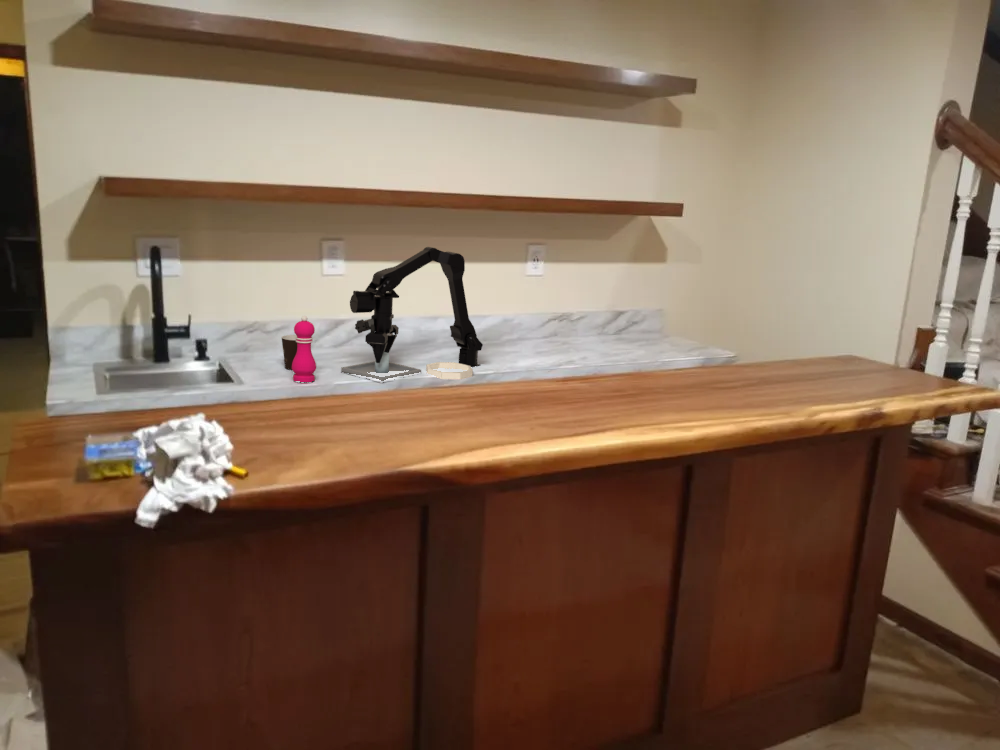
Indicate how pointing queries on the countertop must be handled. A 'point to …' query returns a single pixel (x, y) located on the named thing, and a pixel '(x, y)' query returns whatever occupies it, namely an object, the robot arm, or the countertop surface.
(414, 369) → the tray
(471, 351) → the robot arm
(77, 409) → the countertop surface
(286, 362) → the coffee mug
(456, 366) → the bowl
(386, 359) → the peg
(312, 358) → the pepper mill
